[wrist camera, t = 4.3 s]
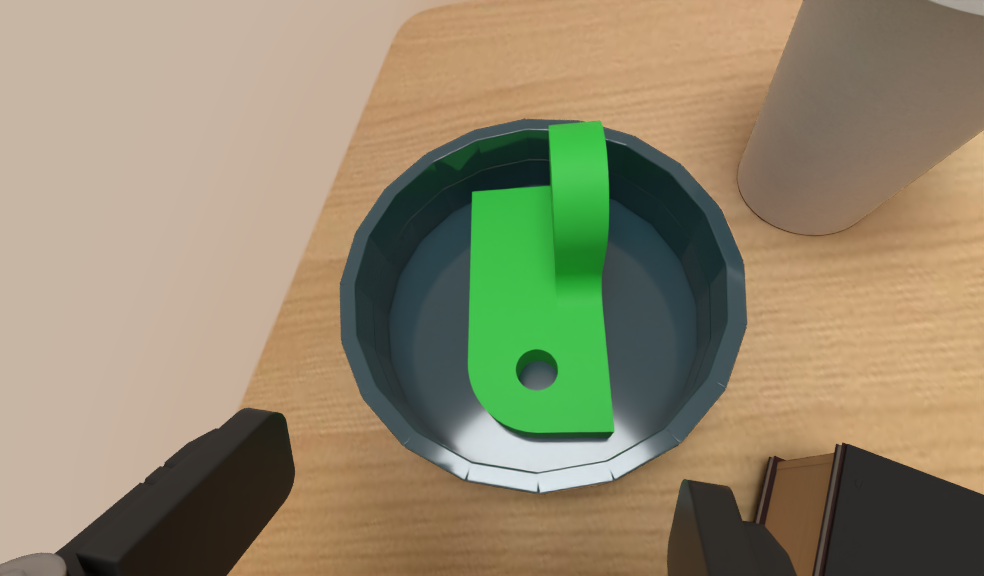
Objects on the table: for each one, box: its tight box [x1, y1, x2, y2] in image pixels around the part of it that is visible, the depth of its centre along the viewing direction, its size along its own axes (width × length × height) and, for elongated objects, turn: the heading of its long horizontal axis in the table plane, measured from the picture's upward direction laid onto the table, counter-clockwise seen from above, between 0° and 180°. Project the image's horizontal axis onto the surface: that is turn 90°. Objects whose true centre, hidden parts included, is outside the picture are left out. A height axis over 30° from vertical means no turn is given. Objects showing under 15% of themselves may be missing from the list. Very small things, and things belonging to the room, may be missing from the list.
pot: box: [340, 119, 747, 495], centre depth 22 cm, size 16×16×5 cm
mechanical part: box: [468, 121, 615, 438], centre depth 20 cm, size 12×6×8 cm, turn 0°
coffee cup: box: [737, 0, 984, 235], centre depth 18 cm, size 10×10×15 cm
